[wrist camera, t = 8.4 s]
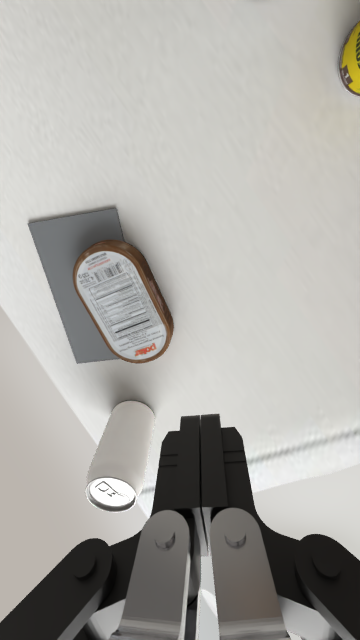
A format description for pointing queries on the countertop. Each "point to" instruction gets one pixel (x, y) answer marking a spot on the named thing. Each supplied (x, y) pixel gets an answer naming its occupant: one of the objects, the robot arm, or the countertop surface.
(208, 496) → the robot arm
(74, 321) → the mat
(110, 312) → the tin
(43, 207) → the countertop surface
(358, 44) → the supplement bottle
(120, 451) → the can
